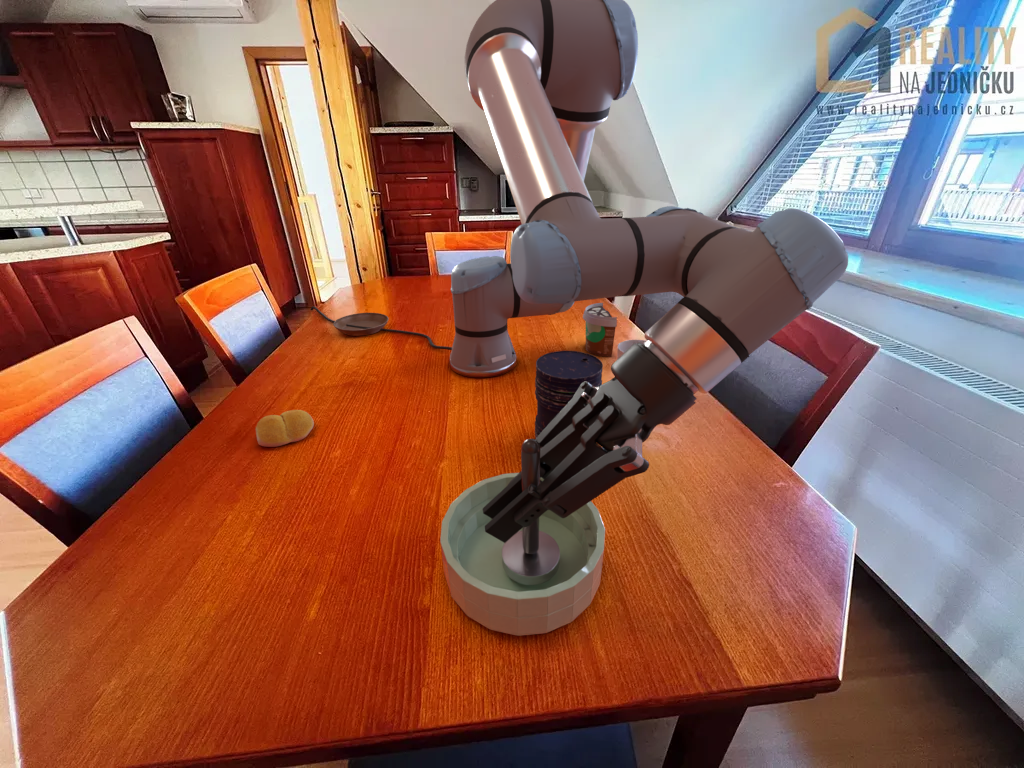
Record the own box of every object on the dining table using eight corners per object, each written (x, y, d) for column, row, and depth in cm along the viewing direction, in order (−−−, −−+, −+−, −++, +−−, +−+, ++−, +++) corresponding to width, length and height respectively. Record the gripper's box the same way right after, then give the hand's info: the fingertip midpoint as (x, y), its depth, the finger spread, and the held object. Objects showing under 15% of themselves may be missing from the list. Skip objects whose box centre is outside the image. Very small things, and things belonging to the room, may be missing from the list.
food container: (576, 340, 109) (578, 303, 105) (599, 339, 110) (602, 302, 105) (587, 360, 98) (590, 319, 94) (613, 359, 99) (617, 317, 94)
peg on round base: (490, 558, 47) (482, 438, 40) (532, 529, 51) (532, 414, 44) (529, 597, 43) (528, 471, 36) (571, 562, 47) (579, 441, 39)
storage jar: (555, 474, 62) (558, 385, 56) (523, 440, 70) (522, 358, 63) (609, 454, 66) (618, 368, 60) (573, 424, 74) (577, 345, 67)
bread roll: (319, 436, 73) (313, 416, 71) (260, 454, 68) (253, 434, 66) (310, 415, 79) (304, 396, 77) (256, 430, 74) (249, 411, 73)
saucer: (400, 326, 122) (399, 317, 121) (359, 342, 111) (357, 333, 110) (366, 318, 129) (364, 309, 128) (324, 333, 118) (322, 323, 117)
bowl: (417, 557, 50) (410, 520, 47) (527, 489, 60) (527, 455, 57) (515, 679, 38) (514, 638, 35) (632, 568, 48) (638, 529, 45)
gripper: (741, 435, 33) (531, 603, 39) (657, 359, 46) (509, 493, 52) (688, 381, 30) (469, 572, 36) (614, 315, 43) (463, 463, 49)
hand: (493, 525), depth 44 cm, fingers closed on peg on round base, 2 cm apart
